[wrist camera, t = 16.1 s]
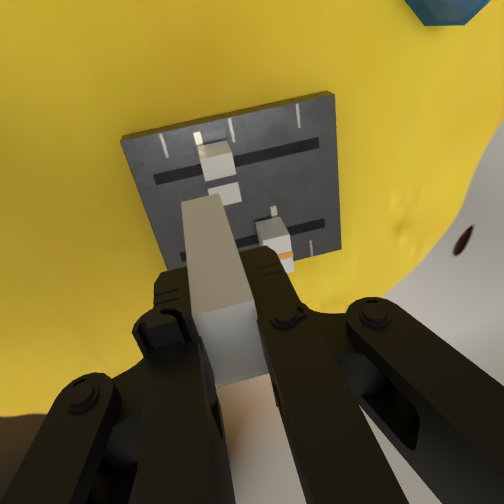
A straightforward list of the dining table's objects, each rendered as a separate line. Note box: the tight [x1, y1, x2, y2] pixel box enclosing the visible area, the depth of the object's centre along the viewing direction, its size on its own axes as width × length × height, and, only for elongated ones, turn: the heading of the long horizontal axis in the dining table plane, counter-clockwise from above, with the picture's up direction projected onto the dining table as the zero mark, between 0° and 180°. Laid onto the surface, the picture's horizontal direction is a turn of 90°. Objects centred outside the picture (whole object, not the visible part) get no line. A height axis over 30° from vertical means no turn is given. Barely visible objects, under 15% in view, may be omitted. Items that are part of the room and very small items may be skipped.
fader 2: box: [255, 217, 295, 273], centre depth 42 cm, size 3×5×5 cm, turn 10°
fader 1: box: [198, 140, 242, 206], centre depth 36 cm, size 3×5×5 cm, turn 10°
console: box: [120, 91, 342, 271], centre depth 42 cm, size 22×19×2 cm
